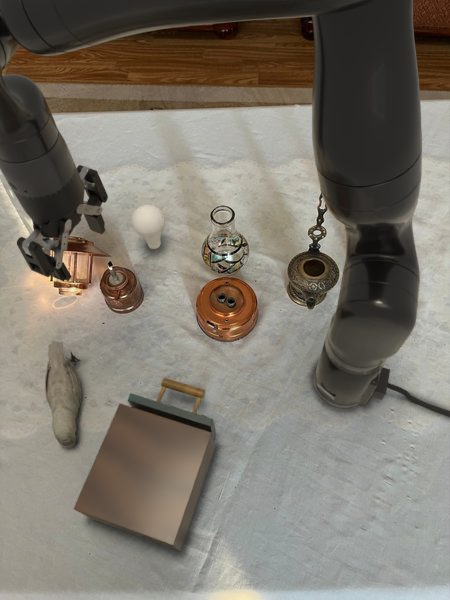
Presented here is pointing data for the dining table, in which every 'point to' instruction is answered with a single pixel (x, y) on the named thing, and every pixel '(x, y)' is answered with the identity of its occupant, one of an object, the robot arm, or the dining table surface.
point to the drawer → (174, 412)
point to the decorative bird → (62, 393)
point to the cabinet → (148, 476)
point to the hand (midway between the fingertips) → (81, 253)
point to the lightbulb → (149, 224)
